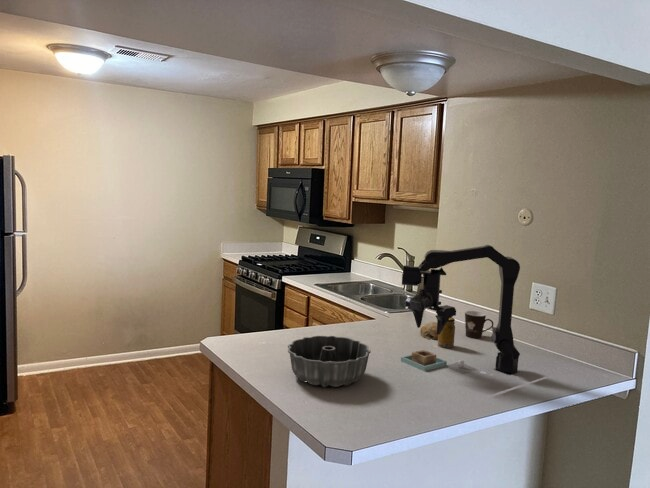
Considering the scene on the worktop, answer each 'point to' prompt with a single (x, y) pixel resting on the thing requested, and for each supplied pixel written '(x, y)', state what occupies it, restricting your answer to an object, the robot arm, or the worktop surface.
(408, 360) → the tray
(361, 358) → the bundt pan
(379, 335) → the worktop surface
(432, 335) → the bread roll
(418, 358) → the ring
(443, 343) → the condiment
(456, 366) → the gray plate with knob
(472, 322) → the coffee mug
